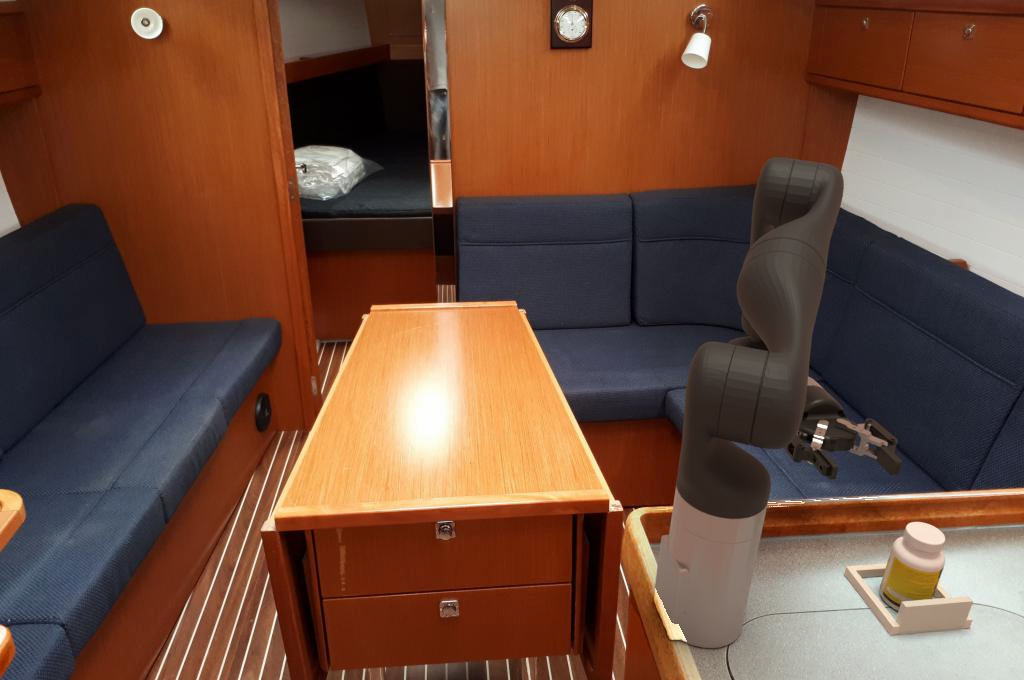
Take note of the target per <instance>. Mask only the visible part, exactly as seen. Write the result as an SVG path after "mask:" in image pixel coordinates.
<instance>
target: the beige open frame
mask: <svg viewBox="0 0 1024 680" xmlns="http://www.w3.org/2000/svg"><path fill="white" fill-rule="evenodd" d="M886 565H887V562H886V563H877V564H876V563H874V564H861V565H850V566H849V565H848V566H845V569H844V573H843V575H844V576H845V577H846V578H847V580H848V581H849V583H850V584H851V586H852V587H853V588H854V589H855V591H856V592H857V593H858V595H859V596H860V598H862V599H863V601H864V602H865V603H866V605H867V607H869V609H870V610H871V611H872V613H873V614H874V615H875V617H876V618H877V619H878V621H879V622H880V623H881V625H882V626H883V627H884V628H885V629H886V631H887V633H888V634H889V635H890V636H893V635H894V636H895V635H896V636H897V635H905V634H907V635H908V634H916V633H917V634H918V633H928V632H938V631H949V630H952V631H953V630H961V629H970V628H971V625H972V623H973V618H971V616H970V615H969V614H970V612H971V609H972V606H973V604H974V600H973V599H972V598H971V597H970V596H969V595H965V596H962V595H961V596H952V595H951V594H950V593H949V592H948V591H947V590H946V589H945V588H944V586H942V584H941V583H940V581H939V582H938V585H937V588H936V591H935V594H934V597H935V598H933V599H926V600H915V601H903V602H901V605H900V608H899V611H898V612H897V615H896V618H894V616H892V615H891V613H890V611H888V609H887V608H886V607H885V606H884V604H883V603H882V602H881V600H880V599H879V598H878V597H877V595H876V594H875V593H874V592H873V590H872V589H871V588H870V586H869V585H868V584H867V583H866V582H865V580H864V579H865V578H874V577H883V575H884V572H885V569H886ZM863 578H864V579H863Z"/></svg>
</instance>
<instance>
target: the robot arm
mask: <svg viewBox="0 0 1024 680" xmlns="http://www.w3.org/2000/svg"><path fill="white" fill-rule="evenodd" d="M759 173H760V174H759V175H758V176H759V177H758V179H757V183H756V187H755V189H754V190H755V191H754V198H753V202H752V203H753V205H752V213H751V226H750V228H751V229H750V242H749V243H750V245H749V249H748V251H747V253H746V255H745V259H744V260H743V264H742V267H741V270H740V273H739V276H738V279H737V283H736V298H737V301H738V305H739V307H740V309H741V311H742V312H741V313H742V314H741V328H742V330H743V331H744V332H745V334H747V336H744V337H743V336H742V337H737V338H734V339H731V340H730V341H729V342H727V343H726V342H721V341H706V342H705V343H703V344H701V345H700V346H699V347H698V349H697V350H696V352H695V354H694V356H693V358H692V360H691V364H690V366H689V370H688V376H687V380H686V387H685V396H684V410H683V411H684V412H683V424H682V425H683V426H682V427H683V428H682V438H681V447H680V454H679V463H678V470H677V476H676V483H675V492H674V496H673V497H674V499H673V505H672V512H671V519H670V526H669V532H668V534H664V535H661V537H660V538H661V539H660V546H659V553H658V562H657V568H656V573H655V574H656V575H655V583H654V589H655V588H656V590H657V593H658V595H659V597H660V599H661V600H662V602H663V605H664V608H665V609H666V612H667V614H668V616H669V618H670V620H671V622H672V623H674V624H679V626H680V628H681V630H682V632H683V634H684V636H685V638H686V640H687V642H688V643H687V644H688V645H691V646H695V647H700V648H704V649H716V648H717V649H718V648H723V647H725V646H729V645H730V644H732V643H734V642H735V641H736V640H737V639H738V638H739V636H740V634H741V633H742V629H743V625H744V620H745V617H746V613H747V611H746V610H747V606H748V601H749V596H750V591H751V586H752V582H753V575H754V570H755V566H756V562H757V561H756V560H757V557H758V552H759V548H760V542H761V538H762V537H761V536H762V532H763V528H764V527H763V526H764V523H765V518H766V514H767V508H768V505H769V500H770V494H771V488H772V480H771V476H770V473H769V470H768V469H767V467H766V466H765V465H764V464H763V463H762V462H761V461H760V460H759V459H758V458H757V457H755V456H754V455H752V453H750V452H748V451H746V450H745V449H743V448H742V447H740V446H739V445H737V444H735V443H739V444H742V445H745V446H746V445H747V446H751V447H755V448H760V449H767V450H781V449H784V450H785V452H786V453H787V454H788V456H789V458H790V459H791V461H793V462H794V463H798V464H799V463H802V462H803V461H807V463H808V464H809V465H813V467H815V468H816V470H817V471H818V472H819V473H820V474H821V475H822V476H823V477H826V478H827V479H828V481H830V480H832V481H833V480H836V479H837V475H838V471H839V466H838V463H836V461H834V459H833V458H832V457H831V456H830V455H829V454H828V453H833V452H837V451H840V452H841V451H842V452H849V453H852V454H854V455H857V456H859V457H863V456H864V455H865V456H867V457H870V458H873V459H875V460H876V463H878V464H879V465H880V466H881V467H882V468H883V470H885V471H886V472H887V473H888V474H889V475H890V476H898V475H899V474H900V470H901V467H902V463H903V461H902V459H901V458H900V457H899V456H898V455H897V454H895V452H896V451H895V450H896V447H897V444H898V441H899V440H898V438H897V437H895V436H894V435H893V434H892V433H891V432H890V431H888V429H886V428H884V427H883V426H882V425H881V424H880V423H879V422H878V421H876V420H875V419H874V418H870V417H869V418H866V419H865V421H864V423H858V424H857V423H856V422H854V421H853V420H850V419H848V418H847V416H846V413H845V411H844V408H843V406H842V405H841V404H840V402H838V401H837V399H835V397H833V396H832V395H831V394H830V393H829V392H827V390H826V389H825V388H823V386H821V385H820V384H819V383H818V381H816V380H815V379H813V378H812V377H810V375H809V370H810V359H811V348H812V340H813V339H812V338H813V333H814V329H815V325H816V321H817V320H816V319H817V315H818V312H819V307H820V304H821V300H822V296H823V290H824V286H825V285H824V284H825V279H826V275H827V274H826V273H827V264H828V256H829V250H830V244H831V238H832V236H833V231H834V229H835V225H836V221H837V219H838V217H839V216H838V215H839V212H840V209H841V206H842V202H843V197H844V192H845V191H844V190H845V187H844V186H845V180H844V176H843V173H842V171H841V170H840V168H838V167H836V166H835V165H831V164H829V163H824V162H817V161H812V160H803V159H799V158H798V159H796V158H790V157H789V158H788V157H778V156H777V157H771V158H769V159H768V160H767V161H766V162H765V163H764V165H763V167H762V169H761V171H760V172H759ZM775 227H776V228H775ZM857 436H859V437H860V442H859V446H857V445H855V444H856V442H857V441H856V440H857ZM869 444H872V445H873V446H874V447H875V450H874V449H872V448H870V447H869ZM806 445H810V446H806ZM827 452H828V453H827Z"/></svg>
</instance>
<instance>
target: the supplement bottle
mask: <svg viewBox="0 0 1024 680" xmlns="http://www.w3.org/2000/svg"><path fill="white" fill-rule="evenodd" d="M904 528H905V529H904V532H903V535H902V536H899V537H897V538H896V539H895V540H894V542H893V544H892V547H891V549H890V553H889V557H888V558H887V559H888V560H887V562H886V563H887V565H886V569H885V572H884V575H883V576H882V579H881V582H880V585H879V594H880V596H881V599H882V600H883V601H884V602H885V603H886V604H887V605H888V606H889V607H891V608H892V609H893V610H895V611H899V608H900V605H901V602H903V601H915V600H926V599H934V597H935V596H934V594H935V591H936V588H937V585H938V582H939V583H940V579H941V576H942V574H943V570H944V567H945V565H946V556H945V553H944V552H943V551H942V550H943V549H944V546H945V541H946V536H945V534H944V533H943V532H942V531H941V529H939V528H937V527H936V526H934V525H931V524H929V523H927V522H921V521H911V522H908V523H907V525H906V526H905V527H904Z"/></svg>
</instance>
